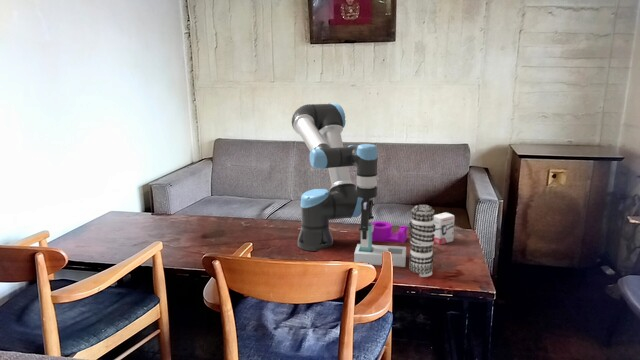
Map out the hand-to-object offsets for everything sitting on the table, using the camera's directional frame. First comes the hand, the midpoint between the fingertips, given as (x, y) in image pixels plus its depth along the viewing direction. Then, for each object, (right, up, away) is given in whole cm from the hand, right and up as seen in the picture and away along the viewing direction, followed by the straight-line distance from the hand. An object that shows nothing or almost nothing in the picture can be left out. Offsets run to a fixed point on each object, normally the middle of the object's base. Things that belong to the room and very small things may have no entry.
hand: (366, 240), depth 180 cm
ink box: (+35, -3, +22) cm, 41 cm away
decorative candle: (+19, -11, -8) cm, 23 cm away
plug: (0, -7, +2) cm, 7 cm away
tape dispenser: (+12, -3, +26) cm, 28 cm away
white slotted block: (+5, -8, +1) cm, 10 cm away
